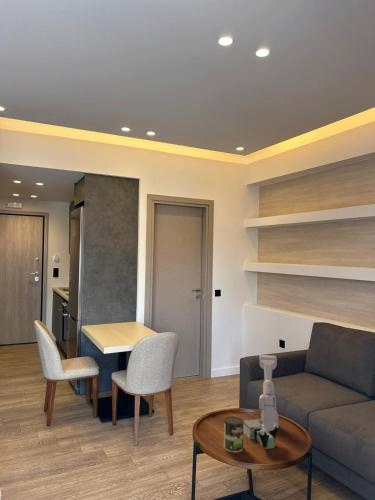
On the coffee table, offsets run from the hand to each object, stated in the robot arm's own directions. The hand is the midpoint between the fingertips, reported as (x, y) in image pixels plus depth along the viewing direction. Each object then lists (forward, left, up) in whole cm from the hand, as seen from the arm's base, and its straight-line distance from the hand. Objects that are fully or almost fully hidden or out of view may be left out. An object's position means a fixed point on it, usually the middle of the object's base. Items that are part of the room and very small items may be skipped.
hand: (268, 444), depth 192 cm
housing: (0, -16, -1) cm, 16 cm away
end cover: (0, -4, -1) cm, 4 cm away
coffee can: (+18, -4, -2) cm, 19 cm away
